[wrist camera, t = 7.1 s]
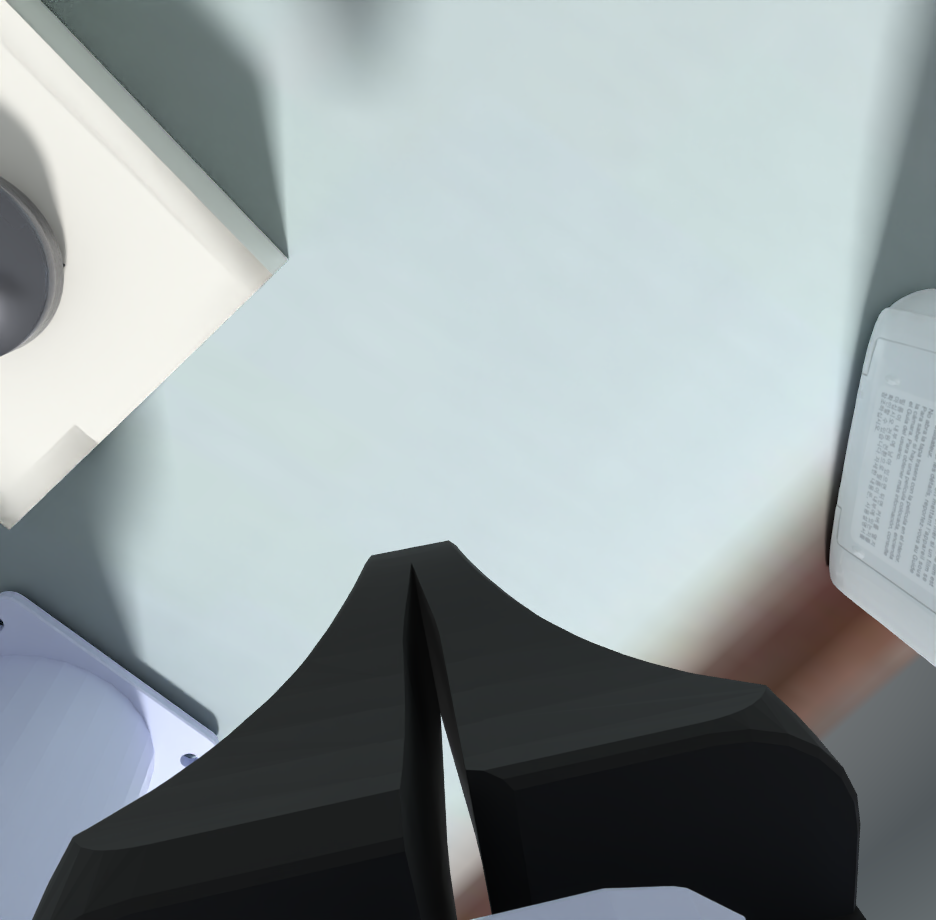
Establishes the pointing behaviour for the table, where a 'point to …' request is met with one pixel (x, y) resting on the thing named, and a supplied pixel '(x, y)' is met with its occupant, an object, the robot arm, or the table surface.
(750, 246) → the table surface
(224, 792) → the robot arm
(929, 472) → the white rounded slab
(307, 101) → the table surface
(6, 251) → the plunger
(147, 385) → the white square block
